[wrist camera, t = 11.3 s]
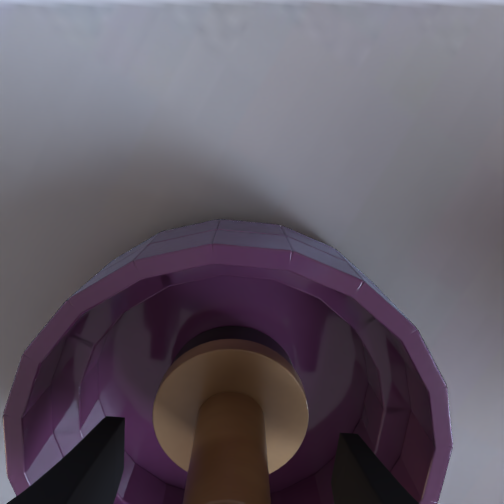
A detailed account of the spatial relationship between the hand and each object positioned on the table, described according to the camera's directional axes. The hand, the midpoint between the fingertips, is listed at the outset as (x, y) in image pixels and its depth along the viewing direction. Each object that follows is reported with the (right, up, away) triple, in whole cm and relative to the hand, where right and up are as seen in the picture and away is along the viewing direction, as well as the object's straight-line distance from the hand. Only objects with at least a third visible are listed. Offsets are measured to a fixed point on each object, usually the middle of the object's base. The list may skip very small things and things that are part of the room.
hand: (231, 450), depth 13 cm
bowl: (0, +1, +4) cm, 4 cm away
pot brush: (0, +1, +3) cm, 3 cm away
